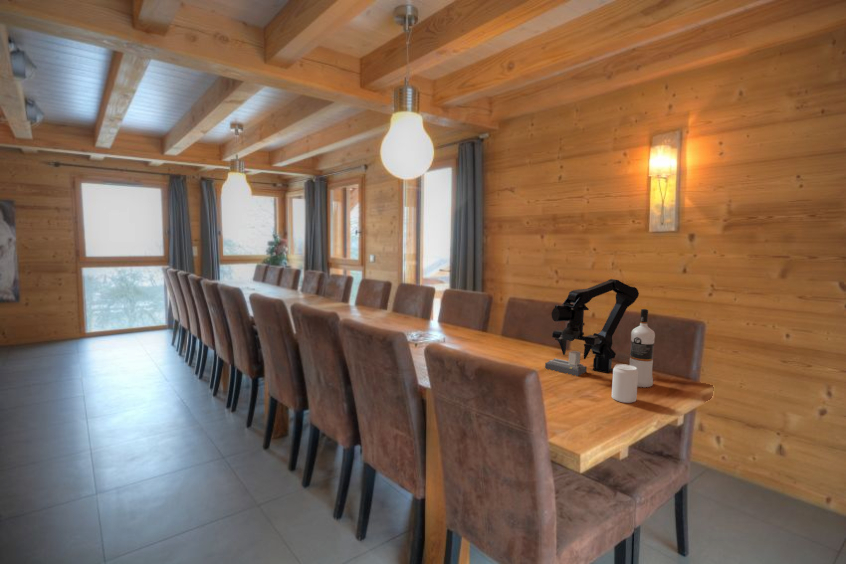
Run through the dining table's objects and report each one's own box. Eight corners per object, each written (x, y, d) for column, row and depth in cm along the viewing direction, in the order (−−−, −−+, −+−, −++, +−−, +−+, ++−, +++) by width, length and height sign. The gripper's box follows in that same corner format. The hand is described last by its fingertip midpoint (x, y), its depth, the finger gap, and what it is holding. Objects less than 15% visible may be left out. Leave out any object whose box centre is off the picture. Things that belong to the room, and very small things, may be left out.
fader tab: (579, 366, 192) (580, 351, 191) (575, 368, 189) (575, 353, 188) (573, 364, 194) (573, 350, 193) (568, 366, 191) (569, 352, 190)
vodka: (657, 386, 175) (663, 310, 172) (642, 389, 171) (647, 311, 168) (636, 379, 184) (641, 306, 180) (621, 382, 179) (626, 308, 176)
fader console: (586, 372, 192) (586, 364, 192) (577, 376, 186) (578, 368, 186) (554, 364, 202) (554, 357, 202) (545, 368, 197) (545, 360, 196)
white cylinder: (637, 405, 155) (639, 371, 154) (612, 402, 158) (614, 368, 156) (634, 397, 163) (636, 365, 162) (610, 394, 165) (612, 362, 164)
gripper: (546, 319, 190) (544, 355, 192) (589, 326, 177) (587, 365, 179) (559, 316, 198) (557, 351, 200) (601, 323, 185) (598, 360, 187)
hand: (574, 356), depth 191 cm, fingers open, 9 cm apart
